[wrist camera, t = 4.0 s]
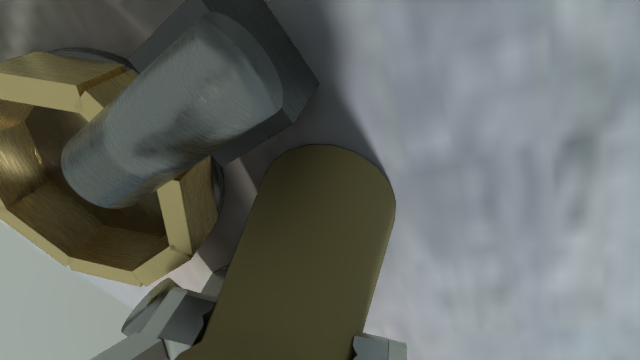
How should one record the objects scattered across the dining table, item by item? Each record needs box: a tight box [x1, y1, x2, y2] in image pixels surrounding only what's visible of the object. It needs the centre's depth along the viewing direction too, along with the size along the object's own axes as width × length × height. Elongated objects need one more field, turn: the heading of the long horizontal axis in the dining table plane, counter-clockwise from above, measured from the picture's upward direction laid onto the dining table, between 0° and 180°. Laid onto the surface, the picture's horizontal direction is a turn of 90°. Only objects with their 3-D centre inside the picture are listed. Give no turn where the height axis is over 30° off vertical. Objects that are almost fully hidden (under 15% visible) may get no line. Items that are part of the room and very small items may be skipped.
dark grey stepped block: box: [61, 0, 320, 209], centre depth 11 cm, size 6×4×6 cm, turn 126°
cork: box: [174, 145, 396, 360], centre depth 11 cm, size 6×6×11 cm
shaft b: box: [121, 264, 230, 337], centre depth 17 cm, size 6×4×6 cm, turn 40°
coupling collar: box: [0, 48, 224, 287], centre depth 16 cm, size 10×10×3 cm
